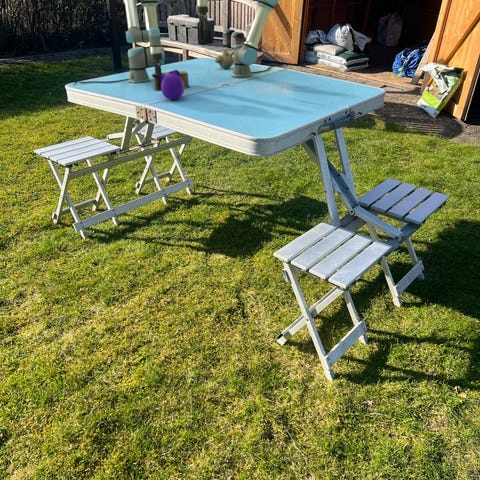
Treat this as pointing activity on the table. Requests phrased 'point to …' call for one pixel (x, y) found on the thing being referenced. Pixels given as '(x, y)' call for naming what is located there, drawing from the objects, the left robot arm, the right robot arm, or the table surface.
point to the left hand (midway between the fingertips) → (159, 87)
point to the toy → (171, 85)
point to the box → (182, 74)
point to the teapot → (225, 59)
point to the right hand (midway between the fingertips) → (204, 40)
